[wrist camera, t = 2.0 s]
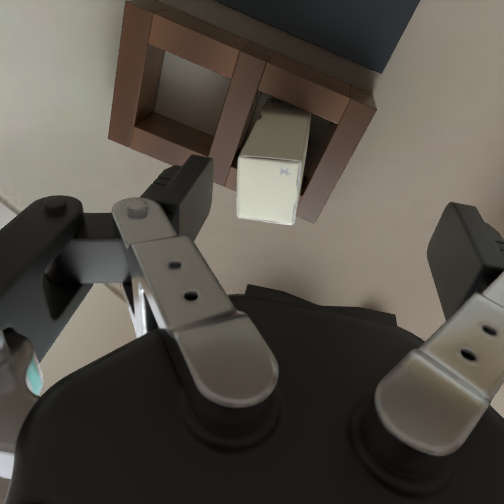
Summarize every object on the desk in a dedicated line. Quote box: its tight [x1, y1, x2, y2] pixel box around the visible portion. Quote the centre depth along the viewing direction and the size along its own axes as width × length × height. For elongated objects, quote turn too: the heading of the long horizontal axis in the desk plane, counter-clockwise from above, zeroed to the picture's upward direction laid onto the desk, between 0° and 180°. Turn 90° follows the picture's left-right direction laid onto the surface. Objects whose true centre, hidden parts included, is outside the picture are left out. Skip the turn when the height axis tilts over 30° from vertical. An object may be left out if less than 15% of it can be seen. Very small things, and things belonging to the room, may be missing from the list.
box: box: [237, 100, 312, 225], centre depth 32 cm, size 5×4×13 cm
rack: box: [108, 0, 377, 223], centre depth 35 cm, size 21×11×4 cm, turn 71°
